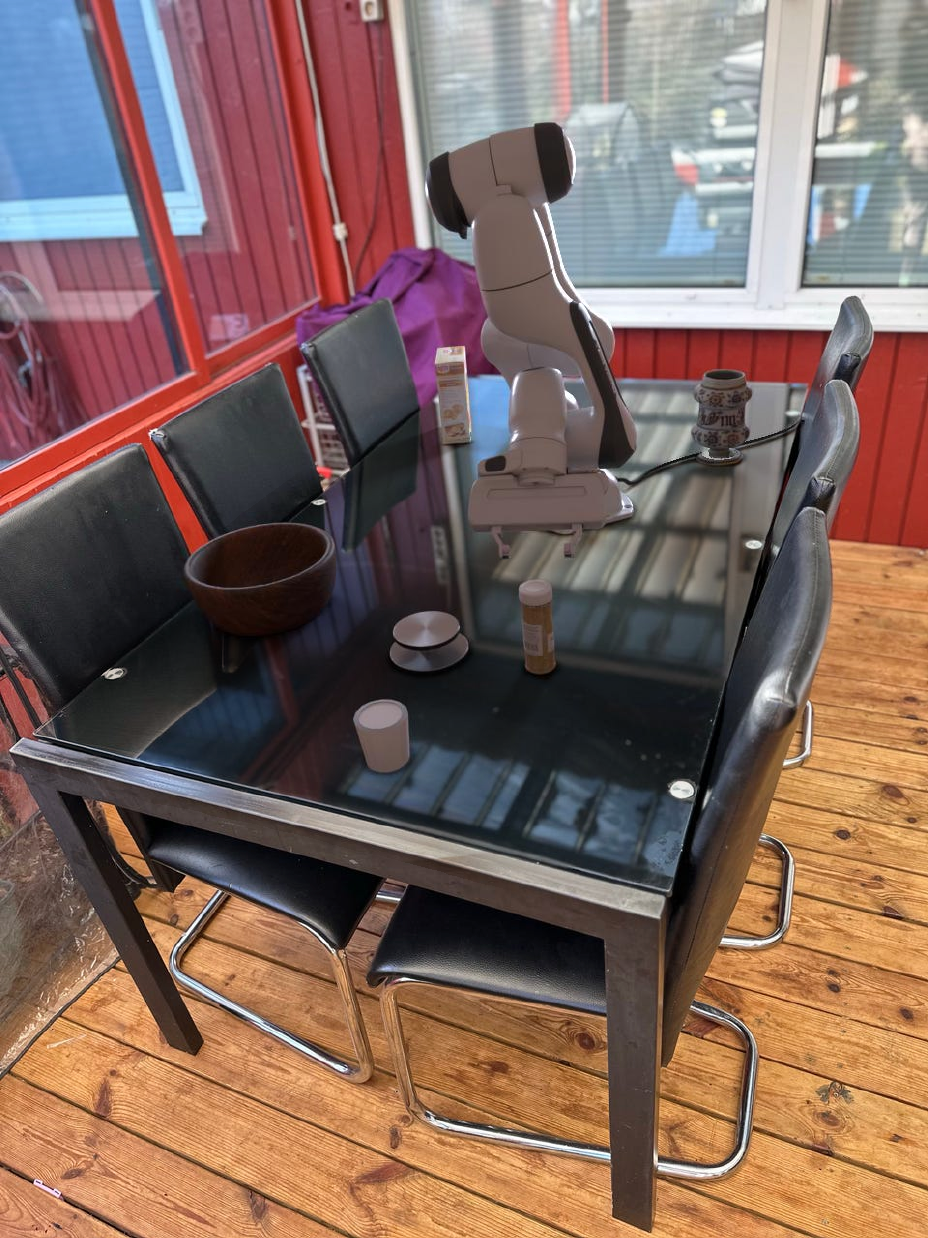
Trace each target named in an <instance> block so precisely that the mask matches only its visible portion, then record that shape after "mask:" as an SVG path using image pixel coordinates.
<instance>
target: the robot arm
mask: <svg viewBox="0 0 928 1238" xmlns="http://www.w3.org/2000/svg"><path fill="white" fill-rule="evenodd" d="M576 162H577V161H576V155H575V149H574V146H573V144H572V142H571V140H570V138H569V137H568V135H567V134H566V133H565V131H564V128H563V127H562V126H561V125H559V124H558V123H556V122H554V121H553V122H552V121H545V122H535V123H534V125H533V126H526V127H525V126H524V127H520V128H514V129H510V130H509V129H508V130H505V131H500V132H497V133H493V134H490V135H489V137H485V138H482V139H479V140H476V141H474V142H471V143H469V144H466V145H464V146H462V147H459V148H457V149H455V150H453V151H449V150H446V151H445V152H443V153H441V154H440V155H438V156H436V157H434V158H433V159H431V160H430V161H429V163H428V166H427V167H426V170H425V182H424V183H425V184H424V190H425V198H426V202H427V205H428V207H429V209H430V211H431V213H432V215H433V216H434V218H435V220H436V221H437V223H438V224H439V225H440V226H441V227H442V228H444V229H445V230H447V231H448V232H451V233H456V234H458V235H459V237H460V238H461V239H462V240H467V239H468V228H470V235H471V237H470V238H471V247H472V248H471V249H472V256H473V263H474V270H475V274H476V278H477V283H478V287H479V292H480V296H481V299H482V303H483V306H484V309H485V312H486V315H487V317H486V319H485V320H484V322H483V324H482V328H481V332H480V344H481V350H482V353H483V355H484V357H485V358H486V359H487V361H488V362H490V363H491V364H492V365H493V366H494V367H495V369H497V370H498V371H499V373H500V374H501V376H502V377H503V379H504V380H505V383H506V384H507V386H508V388H509V390H510V393H509V404H508V420H507V422H508V429H509V432H510V438H509V443H508V446H507V450H506V451H504V452H501V453H499V454H496V455H494V456H490V457H487V458H484V459H481V460H480V461H478V462H477V469H476V470H477V476H478V478H477V479H475V480H474V482H473V484H472V486H471V490H470V494H469V500H468V507H467V508H468V509H467V522H468V525H469V527H470V528H471V529H472V530H473V531H474V532H475V533H491V536H492V539H493V540H494V542H495V544H496V545H497V547H498V558H499V560H510V559H511V555H510V553H511V547H510V544H504V543H503V541H502V540H501V539H503V534H504V533H503V532H530V531H532V532H533V531H536V532H537V531H551V532H555V533H557V534H561V535H568V534H572V538H571V540H570V542H565V543H564V542H563V555H564V559H574V558H575V557H576V555H575V554H576V553H575V551H576V550H575V548H576V547H577V545H578V543H579V542H580V540H581V538H582V537H583V531H584V530H600V529H602V528H604V526H605V525H606V524H611V523H614V522H619V521H621V520H625V519H629V518H631V517H633V515H634V512H635V510H634V504H633V502H632V500H631V499H630V498H629V497H628V496H627V495H626V494H625V493H623V492H622V491H621V488H620V484H619V483H624V484H626V485H628V486H634V485H637V484H638V483H640V482H641V481H642V480H644V478H645V477H647V476H648V475H649V474H651V473H653V472H655V471H657V470H659V469H662V468H665V467H666V466H670V465H673V464H676V463H679V462H683V461H685V460H689V459H692V458H695V457H696V456H697V455H698V454H700V453H702V452H700V453H696V454H692V455H689V456H685V457H682V458H679V459H676V460H673V461H670V462H667V463H664V464H662V465H659V466H657V467H655V468H653V469H650V470H648V469H647V470H648V471H646V470H645V471H643V472H642V473H641V474H640V475H639V476H638V477H637V478H634V479H633V480H630V479H628V478H627V477H622V476H619V477H618V476H617V475H614V474H613V473H612V472H611V471H610V470H612V469H613V470H614V469H615V470H616V469H620V468H621V467H623V466H624V465H625V464H626V463H627V462H628V461H629V460H630V459H631V458H632V456H634V454H635V452H636V450H637V445H638V443H637V441H638V434H637V433H638V432H637V428H636V425H635V422H634V419H633V417H632V415H631V412H630V411H629V408H628V407H627V404H626V402H625V400H624V399H623V396H622V394H621V392H620V389H619V386H618V384H617V381H616V378H615V376H614V373H613V370H612V367H611V365H610V362H611V359H612V358H613V355H614V353H615V343H616V339H615V333H614V330H613V328H612V325H611V324H610V322H609V320H608V319H607V318H605V317H604V316H602V315H600V314H599V313H597V311H595V310H594V309H593V308H591V307H590V305H588V304H587V302H586V301H585V300H584V299H583V297H582V296H581V295H580V293H579V292H578V291H577V289H576V288H575V286H574V285H573V283H572V281H571V280H570V278H569V276H568V274H567V272H566V270H565V267H564V264H563V260H562V257H561V253H560V249H559V245H558V242H557V241H558V240H557V237H556V232H555V227H554V224H553V219H552V215H551V211H550V208H549V205H548V203H549V204H550V205H552V204H554V203H556V202H558V201H560V200H561V199H563V198H564V197H566V196H567V195H568V194H569V192H570V191H571V189H572V188H573V186H574V178H575V176H576V175H575V174H576V166H577V165H576V164H577V163H576ZM564 377H570V378H579V377H580V378H581V380H582V382H583V385H584V388H585V390H586V393H587V395H588V398H589V400H590V403H591V406H587V407H581V408H580V407H579V404H578V401H577V400H576V398H575V397H574V395H572V394H571V393H570V392H568V390H566V389H565V381H564ZM799 421H801V419H800V420H799ZM799 421H798V422H797V423H796V424H794V425H792V426H791V427H789V428H787V429H784V430H782V431H779V432H777V433H774V434H771V435H768V436H765V437H761V438H758V439H754V440H750V441H746V442H744V443H742V444H741V445H738V446H736V447H732V448H733V449H736V448H738V447H742V446H746V445H751V444H754V443H758V442H761V441H764V440H767V439H770V438H773V437H776V436H779V435H782V434H784V433H786V432H789V431H790V430H793V428H795V427H796V426H797V424H798V423H799Z"/></svg>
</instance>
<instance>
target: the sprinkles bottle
mask: <svg viewBox="0 0 928 1238" xmlns="http://www.w3.org/2000/svg"><path fill="white" fill-rule="evenodd" d="M552 587H553V586H552V585H551V583H550V582H549V581H546V580H543V579H531V580H526V581H524V582H522V583H521V584H520V586H519V588H518V598H519V601H520V607H521V610H520V611H521V628H522V643H523V650H524V668H525V670H526V671H527V672H529V673H531V674H535V675H544V674H549V673H551V672H552V671H553V670H555V668H556V664H557V663H556V659H555V641H554V640H555V638H554V637H555V636H554V624H553V614H552V613H553V611H552V599H553V589H552Z"/></svg>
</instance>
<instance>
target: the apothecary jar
mask: <svg viewBox="0 0 928 1238" xmlns="http://www.w3.org/2000/svg"><path fill="white" fill-rule="evenodd" d="M753 394H754V393H753V389H752V386H751V385H750V383H748V382H747V379H746V374H745V373H744V372H743V371H740V370H737V369H725V368H721V369H718V368H717V369H711V370H708V371H706V372H704V373H703V375H702V380H701V382H700V383H698V384H697V385H696V386H695V388H694V390H693V398H694V400H695V402H696V403H698V411H697V421H696V422H695V423H694V424H693V425H692V427H691V429H690V436H691V438H692V440H693V441H694V442H695V443H697V444H698V445H700V446H701V447H704V448H710V449H709V450H708V452H709V456H710V457H711V458H712V457H713V458H721V459H722V458H729V457H733V456H734V455H735V454H736V451H737V452H738V455H737V456H736V457H734V458H731V459H724V460H714V459H709V458H706V457H704V456H702V453H700V454H698V455H697V456H696V457H694V458H695V460H696V461H697V462H698V463H700V464H703V465H709V466H729V465H733V464H736V463H739V462H741V461H742V460H743V458H744V455H743V453H742V452H741V451H740V450H738V449H736V448H737V447H736V446H738V445H741V444H742V443H744V442H745V441H746V440H749V437H750V435H751V429H750V426H749V425H748V423H747V422H746V407H747V403H748V402H749V401H750V400H751V399H752V397H753ZM732 447H735V448H733V449H734V450H736V451H734V450H732V449H729V448H732ZM703 450H704V449H702V450H700V451H703Z"/></svg>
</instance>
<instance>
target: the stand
mask: <svg viewBox="0 0 928 1238" xmlns="http://www.w3.org/2000/svg"><path fill="white" fill-rule="evenodd" d="M460 631H461V626H460V621H459V620H458V619H457V618H456V617H455V616H453V615H452V614H450V613H447V612H445V611H444V612H443V611H435V610H433V611H432V610H429V611H420V612H416V613H413V614H410V615H408V616H405V617H403V618H402V619H401V620H399V621H398V622H397V623H396V624H395V626H394V628H393V631H392V633H393V634H392V635H393V639H394V642H393V643H392V645H391V647H390V649H389V658H390V662H391V664H392V665H393V666H394V667H395V668H396V670H398V671H401V672H403V673H406V674H409V675H415V676H416V675H417V676H432V675H437V674H441V673H444V672H447V671H450V670H452V669H454V668H456V667H458V666H459V665H461V664H462V663H463V662H464V661H465V659H466V658H467V656H468V654H469V649H470V648H469V647H470V646H469V642H468V639H467V638H466V637H465V636H464V635H463V634H462V633H461V632H460Z"/></svg>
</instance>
